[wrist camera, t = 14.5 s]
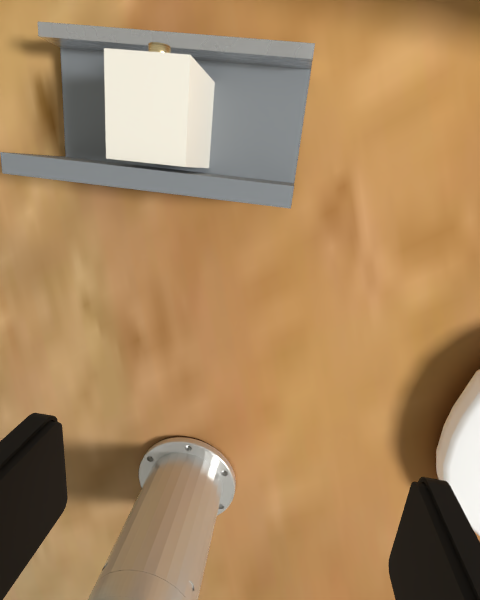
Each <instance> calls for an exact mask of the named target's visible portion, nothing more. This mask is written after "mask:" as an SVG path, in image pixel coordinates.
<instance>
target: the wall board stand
mask: <svg viewBox="0 0 480 600" xmlns="http://www.w3.org/2000/svg"><path fill="white" fill-rule="evenodd" d="M38 36H39V37H41V38H43V39H44V40H46V41H48V42H50V43H52V44H54V45H56V46H58V47H60V49H61V70H62V91H63V111H64V132H65V153H66V157H62V156H47V155H33V154H18V153H4V152H0V154H1V163H2V173H4V174H12V175H21V176H29V177H37V178H45V179H54V180H62V181H70V182H78V183H86V184H95V185H103V186H111V187H119V188H128V189H136V190H144V191H152V192H160V193H169V194H177V195H185V196H193V197H202V198H210V199H218V200H226V201H234V202H243V203H251V204H259V205H267V206H276V207H284V208H291V203H292V196H293V189H294V180H295V174H296V167H297V160H298V153H299V147H300V140H301V133H302V126H303V120H304V113H305V106H306V99H307V92H308V86H309V79H310V72H311V66H312V59H313V53H314V46H315V44H314V43H302V42H289V41H276V40H264V39H251V38H238V37H226V36H213V35H200V34H188V33H175V32H163V31H150V30H137V29H125V28H112V27H99V26H87V25H74V24H61V23H49V22H38ZM150 42H159V43H164V44H167V45H169V46H170V47H171V53H175V54H188V55H191V56H192V57H193V58H194V59H195V60H196V62H197V63H198V64H199V65H200V66H201V67H202V68H203V69H204V71H205V72H206V73H207V74H208V75H209V76H210V77H211V79H212V80H213V81H214V82H215V87H214V102H213V117H212V131H211V146H210V161H209V168H195V167H181V166H171V165H162V164H152V163H143V162H134V161H124V160H115V159H106V130H105V81H104V48H110V49H123V50H136V51H148V43H150Z"/></svg>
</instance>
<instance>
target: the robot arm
mask: <svg viewBox="0 0 480 600" xmlns="http://www.w3.org/2000/svg"><path fill="white" fill-rule="evenodd" d="M139 481H140V485H141V487H142V489H141V491H140V493H139V495H138V498H137V500H136V502H135V504H134V506H133V508H132V510H131V512H130V514H129V516H128V518H127V520H126V522H125V524H124V526H123V528H122V530H121V533H120V535H119V537H118V539H117V541H116V543H115V545H114V547H113V549H112V551H111V553H110V555H109V557H108V559H107V561H106V563H105V566H104V568H103V570H102V572H101V574H100V576H99V578H98V580H97V582H96V584H95V586H94V588H93V590H92V592H91V594H90V596H89V599H88V600H198V596H199V592H200V587H201V583H202V578H203V574H204V570H205V565H206V561H207V556H208V552H209V548H210V543H211V539H212V534H213V530H214V525H215V521H216V517H217V515H219V514H220V513H222V512H223V511H225V510H226V509H227V507H228V506H229V505H230V503H231V502H232V500H233V497H234V493H235V487H236V480H235V474H234V471H233V468H232V467H231V465H230V463H229V462H228V460H227V459H226V458H225V457H224V456H223V454H221V453H220V452H219V451H218V450H217V449H215V448H214V447H212V446H210V445H209V444H207V443H204V442H202V441H199V440H196V439H192V438H184V437H176V438H169V439H165V440H162V441H160V442H158V443H156V444H154V445H153V446H152V447H151V448H150V449H149V450H148V451H147V452H146V454H145V455H144V457H143V459H142V461H141V463H140V467H139ZM66 503H67V486H66V472H65V459H64V445H63V432H62V425H61V423H59V422H58V421H57V418H56V417H55V416H51V415H45V414H39V413H32V414H31V415H29V416H28V417H27V418H26V419H25V420H24V421H23V422H21V423H20V424H19V425H18V426H17V427H16V428H15V429H14V430H13V431H11V432H10V433H9V434H8V435H7V436H6V437H5V438H4V439H3V440H1V441H0V600H3V598H4V597H5V596H6V594H7V593H8V591H9V590H10V588H11V587H12V585H13V584H14V582H15V581H16V580H17V578H18V577H19V575H20V574H21V572H22V571H23V569H24V568H25V567H26V565H27V564H28V562H29V561H30V559H31V558H32V556H33V555H34V553H35V552H36V551H37V549H38V548H39V546H40V545H41V543H42V542H43V540H44V539H45V537H46V536H47V535H48V533H49V532H50V530H51V529H52V527H53V526H54V524H55V523H56V521H57V520H58V519H59V517H60V516H61V514H62V513H63V511H64V509H65V506H66ZM389 574H390V579H391V583H392V587H393V591H394V595H395V599H396V600H480V542H479V540H478V538H477V536H476V534H475V533H474V531H473V529H472V527H471V525H470V523H469V521H468V519H467V517H466V515H465V513H464V511H463V509H462V507H461V505H460V503H459V502H458V500H457V498H456V496H455V494H454V492H453V490H452V488H451V486H450V485H449V483H448V482H447V481H444V480H438V479H431V478H425V477H421V478H420V479H419V481H418V482H413V483H412V484H411V487H410V490H409V494H408V497H407V500H406V504H405V507H404V510H403V514H402V517H401V521H400V524H399V527H398V531H397V534H396V537H395V541H394V544H393V547H392V551H391V554H390V558H389Z"/></svg>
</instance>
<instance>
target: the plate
mask: <svg viewBox="0 0 480 600" xmlns="http://www.w3.org/2000/svg"><path fill="white" fill-rule="evenodd" d="M436 472H437V475H438V479H439V480H444V481H447V482H448V483H449V485H450V486H451V488H452V490H453V492H454V494H455V496H456V498H457V500H458V502H459V503H460V505H461V507H462V509H463V511H464V513H465V515H466V517H467V519H468V521H469V523H470V525H471V527H472V529H473V531H475V532H476V533H477V534H478V535H479V536H480V369H479V370H478V371H476V373H475V374H474V376H473V377H472V379H471V380H470V382H469V383H468V385H467V386H466V388H465V389H464V391H463V392H462V394H461V395H460V397H459V398H458V400H457V401H456V403H455V404H454V406H453V407H452V409H451V411H450V414H449V416H448V418H447V420H446V422H445V424H444V426H443V430H442V433H441V436H440V440H439V443H438V446H437V450H436Z"/></svg>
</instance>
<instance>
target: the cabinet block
mask: <svg viewBox="0 0 480 600" xmlns="http://www.w3.org/2000/svg"><path fill="white" fill-rule="evenodd" d="M104 81H105V130H106V159H115V160H124V161H134V162H143V163H152V164H162V165H171V166H181V167H195V168H209V161H210V146H211V131H212V117H213V102H214V87H215V82H214V81H213V80H212V79H211V77H210V76H209V75H208V74H207V73H206V72H205V71H204V69H203V68H202V67H201V66H200V65H199V64H198V63H197V62H196V60H195V59H194V58H193V57H192V56H191V55H188V54H175V53H171V47H170V46H169V45H167V44H164V43H159V42H150V43H148V51H136V50H123V49H110V48H104Z"/></svg>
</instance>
